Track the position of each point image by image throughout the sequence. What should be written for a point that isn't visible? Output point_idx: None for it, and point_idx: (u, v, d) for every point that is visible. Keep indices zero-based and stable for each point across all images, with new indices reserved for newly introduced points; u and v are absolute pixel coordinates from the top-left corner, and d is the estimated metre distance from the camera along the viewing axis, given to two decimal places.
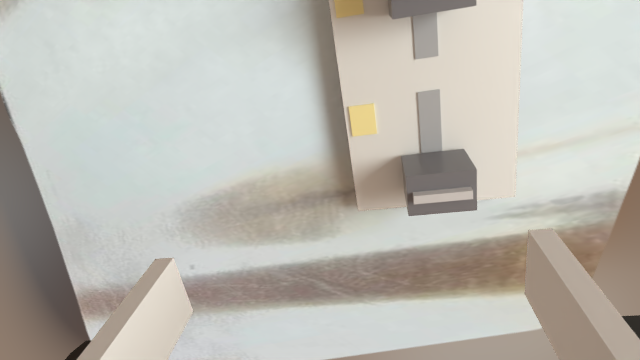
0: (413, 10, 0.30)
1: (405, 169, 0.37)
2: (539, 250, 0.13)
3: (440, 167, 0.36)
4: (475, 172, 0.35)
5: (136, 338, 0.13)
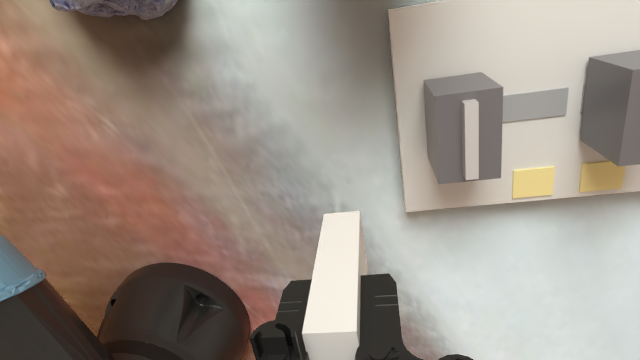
0: None
1: None
2: (340, 228, 0.16)
3: None
4: None
5: None
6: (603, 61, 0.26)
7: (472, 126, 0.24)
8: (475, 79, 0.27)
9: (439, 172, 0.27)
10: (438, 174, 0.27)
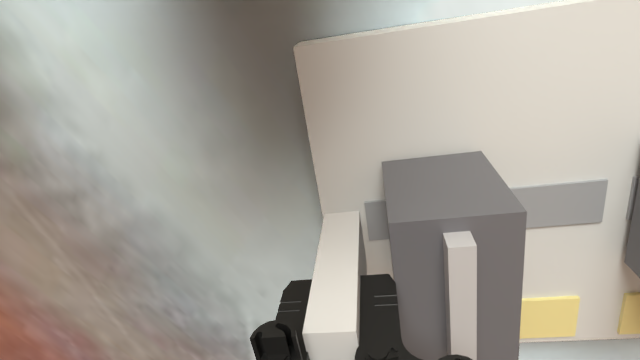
0: None
1: None
2: (340, 228, 0.16)
3: None
4: None
5: None
6: None
7: (464, 287, 0.12)
8: (470, 173, 0.15)
9: (404, 346, 0.14)
10: None
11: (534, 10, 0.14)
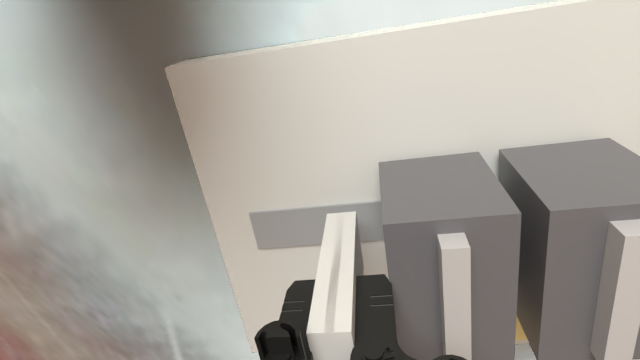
0: None
1: None
2: (337, 228, 0.16)
3: None
4: None
5: None
6: (513, 167, 0.14)
7: (458, 288, 0.12)
8: (467, 174, 0.14)
9: None
10: None
11: (381, 34, 0.15)
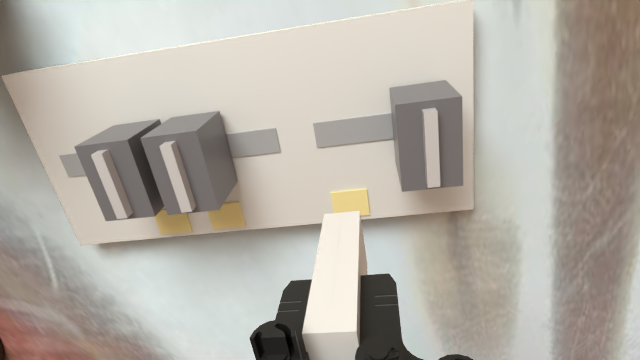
0: (208, 191, 0.28)
1: (399, 180, 0.29)
2: (341, 228, 0.16)
3: (396, 141, 0.27)
4: (400, 106, 0.25)
5: None
6: (161, 124, 0.30)
7: (104, 174, 0.28)
8: (136, 128, 0.30)
9: (102, 211, 0.30)
10: (103, 212, 0.30)
11: (102, 59, 0.31)
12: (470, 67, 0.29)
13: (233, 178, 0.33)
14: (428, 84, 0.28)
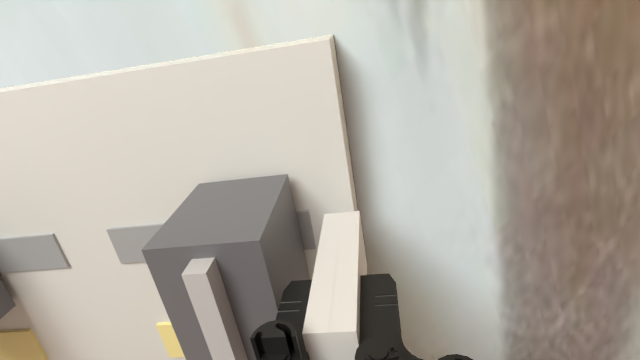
0: None
1: None
2: (340, 228, 0.16)
3: None
4: (151, 253, 0.13)
5: None
6: None
7: None
8: None
9: None
10: None
11: None
12: (340, 151, 0.17)
13: None
14: (254, 183, 0.17)
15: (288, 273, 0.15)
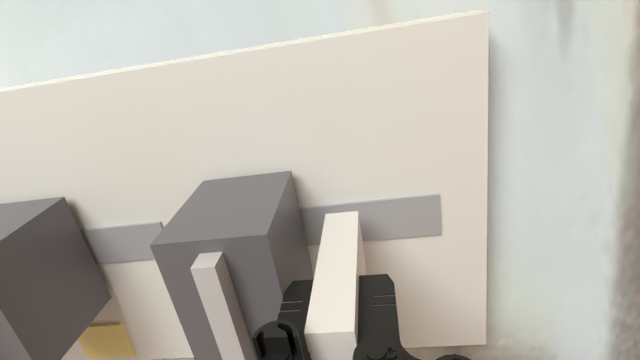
0: (19, 352, 0.16)
1: None
2: (339, 228, 0.16)
3: None
4: (159, 248, 0.13)
5: None
6: None
7: None
8: None
9: None
10: None
11: None
12: (482, 131, 0.16)
13: (97, 300, 0.20)
14: (258, 180, 0.17)
15: (293, 268, 0.16)
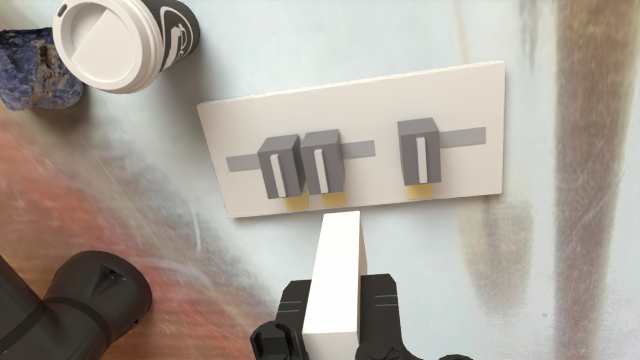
0: (338, 180, 0.46)
1: (403, 179, 0.47)
2: (341, 228, 0.16)
3: (401, 155, 0.45)
4: (403, 136, 0.43)
5: None
6: (304, 137, 0.48)
7: (276, 169, 0.45)
8: (288, 140, 0.48)
9: (267, 192, 0.47)
10: (267, 193, 0.48)
11: (265, 96, 0.48)
12: (502, 102, 0.46)
13: (344, 172, 0.50)
14: (421, 120, 0.46)
15: None
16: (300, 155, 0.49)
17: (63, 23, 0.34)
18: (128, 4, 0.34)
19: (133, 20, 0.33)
